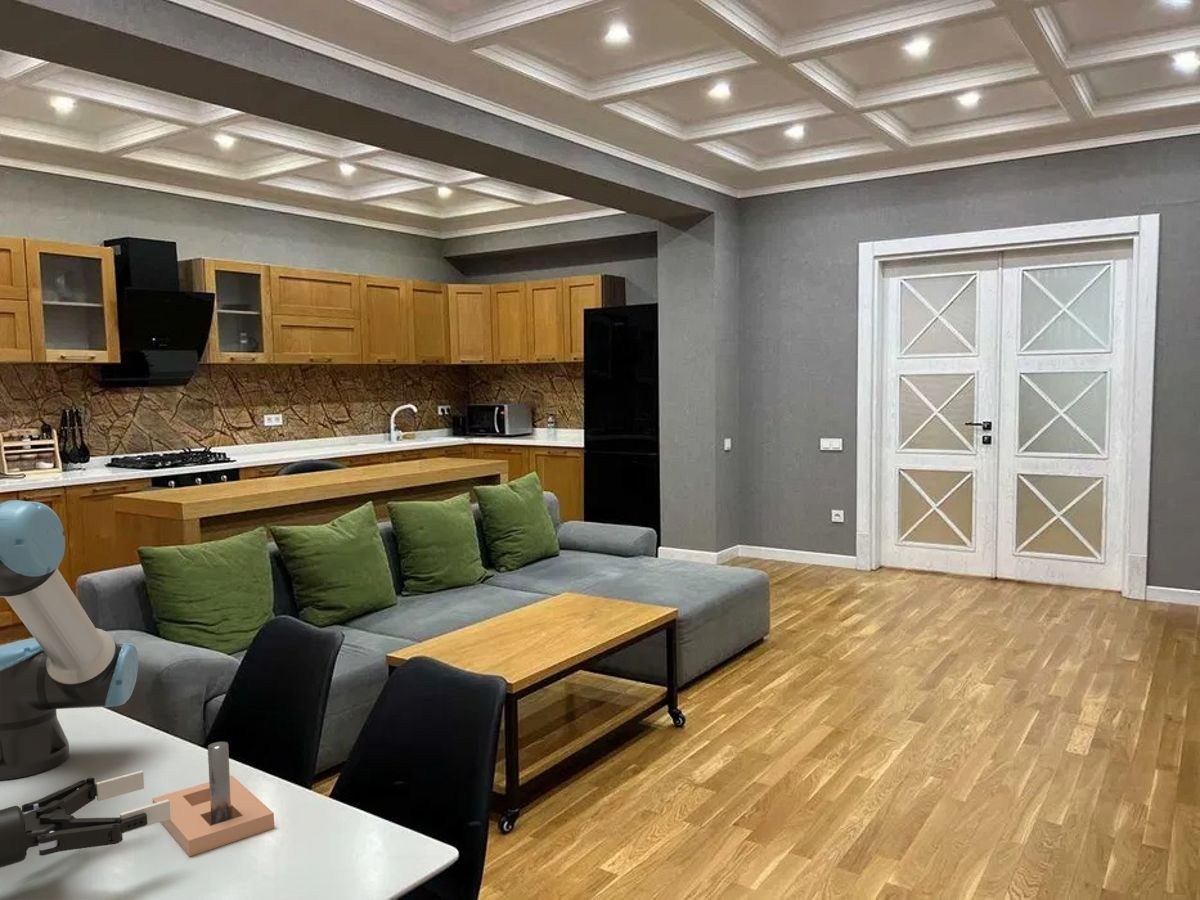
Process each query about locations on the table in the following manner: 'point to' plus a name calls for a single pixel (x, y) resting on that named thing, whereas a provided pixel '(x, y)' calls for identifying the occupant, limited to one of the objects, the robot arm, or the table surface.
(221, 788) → the steel dowel
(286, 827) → the table surface
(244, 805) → the terracotta block
